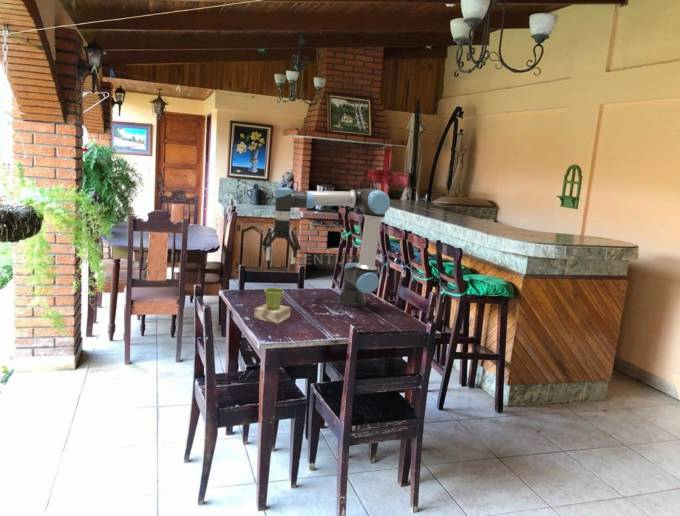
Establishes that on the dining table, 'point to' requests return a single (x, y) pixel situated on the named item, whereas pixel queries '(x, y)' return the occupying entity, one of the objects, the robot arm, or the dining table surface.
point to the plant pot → (273, 297)
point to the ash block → (272, 313)
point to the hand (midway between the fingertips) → (280, 261)
